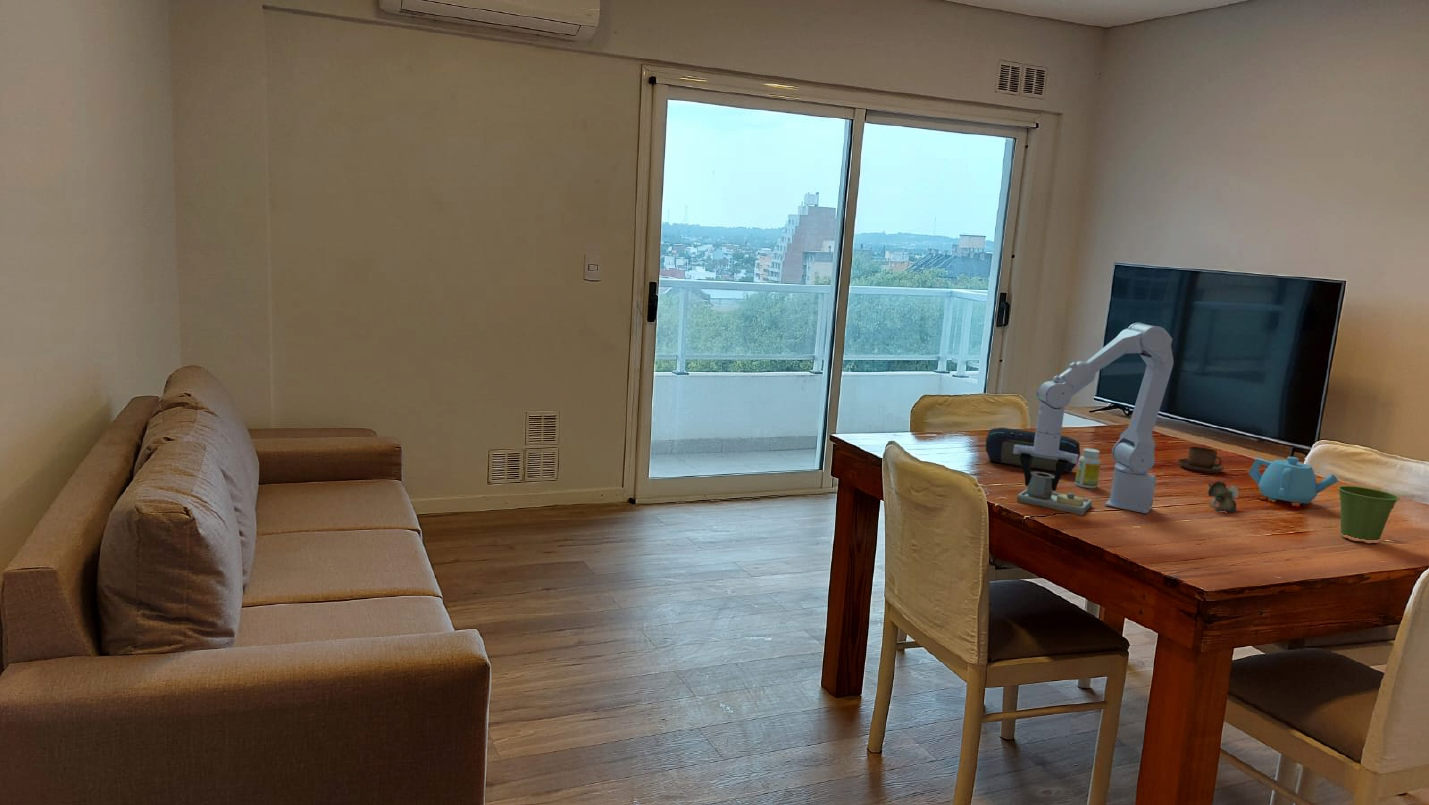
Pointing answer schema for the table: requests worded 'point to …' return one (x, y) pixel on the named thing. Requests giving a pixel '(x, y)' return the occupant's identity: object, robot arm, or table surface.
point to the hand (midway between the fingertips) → (1040, 487)
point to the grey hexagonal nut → (1040, 485)
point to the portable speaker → (1005, 439)
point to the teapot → (1289, 480)
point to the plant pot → (1364, 511)
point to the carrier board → (1058, 502)
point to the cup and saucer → (1202, 460)
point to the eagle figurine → (1223, 496)
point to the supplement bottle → (1088, 469)
